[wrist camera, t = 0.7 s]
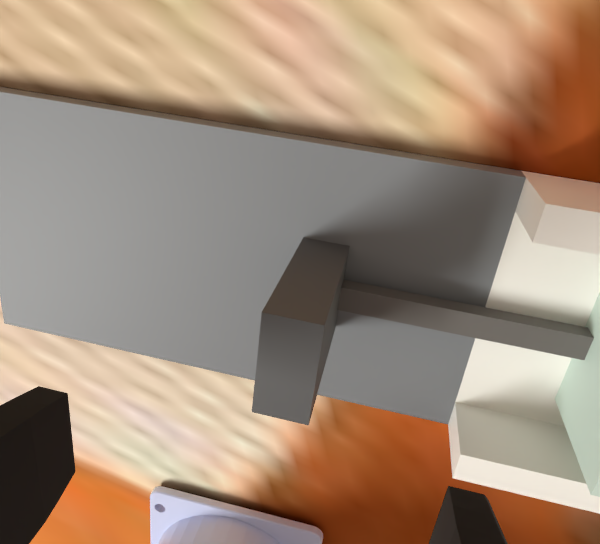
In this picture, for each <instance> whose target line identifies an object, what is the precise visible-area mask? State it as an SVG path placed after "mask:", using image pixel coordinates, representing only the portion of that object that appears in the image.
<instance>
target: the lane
mask: <svg viewBox="0 0 600 544" xmlns="http://www.w3.org/2000/svg"><path fill="white" fill-rule="evenodd" d="M303 237H305V238H310V239H315V240H321V241H326V242H331V243H337V244H342V245H347V246H350V248H349V254H348V259H347V265H346V271H345V277H344V280H348V281H353V282H359V283H364V284H369V285H374V286H379V287H384V288H389V289H394V290H399V291H404V292H409V293H415V294H420V295H425V296H430V297H435V298H440V299H445V300H450V301H455V302H460V303H465V304H471V305H476V306H481V307H486V308H491V309H496V310H501V311H506V312H511V313H516V314H521V315H526V316H532V317H537V318H542V319H547V320H552V321H557V322H562V323H567V324H572V325H577V326H582V327H585V326H586V323H587V321H588V319H589V316H590V314H591V312H592V309H593V307H594V304H595V302H596V300H597V297H598V295H599V292H600V183H595V182H588V181H582V180H576V179H570V178H564V177H557V176H551V175H545V174H539V173H533V172H526V171H520V170H514V169H508V168H502V167H495V166H489V165H483V164H477V163H471V162H464V161H458V160H452V159H446V158H440V157H433V156H427V155H421V154H415V153H409V152H402V151H396V150H390V149H384V148H378V147H371V146H365V145H359V144H353V143H347V142H340V141H334V140H328V139H322V138H316V137H309V136H303V135H297V134H291V133H285V132H278V131H272V130H266V129H260V128H253V127H247V126H241V125H235V124H229V123H222V122H216V121H210V120H204V119H198V118H191V117H185V116H179V115H173V114H167V113H160V112H154V111H148V110H142V109H136V108H129V107H123V106H117V105H111V104H105V103H98V102H92V101H86V100H80V99H74V98H67V97H61V96H55V95H49V94H43V93H36V92H30V91H24V90H18V89H12V88H5V87H0V298H1V305H2V311H3V317H4V323H5V324H10V325H14V326H19V327H23V328H27V329H32V330H36V331H40V332H45V333H49V334H54V335H58V336H62V337H67V338H71V339H76V340H80V341H84V342H89V343H93V344H98V345H102V346H106V347H111V348H115V349H120V350H124V351H128V352H133V353H137V354H142V355H146V356H150V357H155V358H159V359H163V360H168V361H172V362H177V363H181V364H185V365H190V366H194V367H199V368H203V369H207V370H212V371H216V372H221V373H225V374H229V375H234V376H238V377H243V378H247V379H251V380H255V375H256V365H257V355H258V345H259V334H260V324H261V314H262V311H263V309H264V307H265V305H266V304H267V302H268V300H269V298H270V296H271V295H272V293H273V291H274V289H275V288H276V286H277V284H278V282H279V280H280V279H281V277H282V275H283V273H284V271H285V270H286V268H287V266H288V264H289V262H290V261H291V259H292V257H293V255H294V253H295V252H296V250H297V248H298V246H299V244H300V243H301V241H302V239H303ZM571 359H572V358H570V357H565V356H560V355H555V354H551V353H546V352H541V351H536V350H531V349H526V348H521V347H516V346H511V345H507V344H502V343H497V342H492V341H487V340H482V339H477V338H472V337H467V336H463V335H458V334H453V333H448V332H443V331H438V330H433V329H428V328H423V327H419V326H414V325H409V324H404V323H399V322H394V321H389V320H384V319H380V318H375V317H370V316H365V315H360V314H355V313H350V312H345V311H340V310H339V311H338V317H337V323H336V328H335V331H334V335H333V339H332V342H331V346H330V349H329V353H328V357H327V360H326V364H325V367H324V371H323V375H322V378H321V382H320V385H319V389H318V393H317V395H322V396H326V397H330V398H335V399H339V400H344V401H348V402H352V403H357V404H361V405H366V406H370V407H374V408H379V409H383V410H388V411H392V412H396V413H401V414H405V415H410V416H414V417H418V418H423V419H427V420H431V421H436V422H440V423H445V424H448V428H449V441H450V453H451V466H452V478H454V479H458V480H462V481H466V482H471V483H475V484H479V485H483V486H487V487H491V488H496V489H500V490H504V491H508V492H512V493H516V494H520V495H525V496H529V497H533V498H537V499H541V500H545V501H549V502H554V503H558V504H562V505H566V506H570V507H574V508H579V509H583V510H587V511H591V512H595V513H599V514H600V497H598V496H594V495H591V494H590V492H589V489H588V486H587V484H586V481H585V478H584V476H583V473H582V470H581V468H580V465H579V462H578V460H577V457H576V454H575V452H574V449H573V446H572V444H571V441H570V438H569V436H568V433H567V430H566V428H565V425H564V422H563V420H562V417H561V414H560V412H559V409H558V406H557V404H556V401H555V397H556V395H557V392H558V390H559V388H560V385H561V383H562V380H563V378H564V376H565V373H566V371H567V369H568V366H569V364H570V361H571Z"/></svg>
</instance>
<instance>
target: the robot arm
mask: <svg viewBox="0 0 600 544" xmlns="http://www.w3.org/2000/svg"><path fill="white" fill-rule="evenodd" d="M74 473H75V463H74V453H73V443H72V433H71V423H70V413H69V404H68V394H67V393H64V392H59V391H55V390H51V389H47V388H43V387H37V388H34V389H32V390H30V391H28V392H26V393H24V394H22V395H20V396H18V397H16V398H14V399H12V400H10V401H8V402H6V403H4V404H3V405H1V406H0V544H29V543H30V542H31V540H32V539H33V538H34V536H35V535H36V534H37V532H38V531H39V530H40V528H41V527H42V526H43V524H44V523H45V521H46V520H47V518H48V517H49V515H50V513H51V512H52V510H53V509H54V507H55V505H56V504H57V502H58V500H59V499H60V497H61V495H62V494H63V492H64V490H65V488H66V487H67V485H68V483H69V482H70V480H71V478H72V476H73V475H74ZM150 534H151V544H322V541H323V533H322V531H321V530H320V529H319V528H318V527H315V526H312V525H308V524H305V523H301V522H297V521H293V520H289V519H285V518H282V517H278V516H274V515H270V514H266V513H263V512H259V511H255V510H251V509H247V508H243V507H240V506H236V505H232V504H228V503H224V502H221V501H217V500H213V499H209V498H205V497H201V496H198V495H194V494H190V493H186V492H182V491H179V490H175V489H171V488H167V487H163V486H158V487H155V488H154V489H153V491H152V493H151V495H150ZM429 544H507V541H506V539H505V537H504V535H503V533H502V530H501V528H500V526H499V524H498V521H497V519H496V517H495V514H494V512H493V510H492V507H491V505H490V503H489V501H488V499H487V498H486V496H485V495H483V494H479V493H475V492H471V491H467V490H463V489H459V488H454V487H450V486H448V489H447V492H446V495H445V498H444V500H443V503H442V506H441V509H440V512H439V515H438V518H437V521H436V524H435V527H434V530H433V533H432V536H431V539H430V542H429Z"/></svg>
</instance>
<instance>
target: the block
mask: <svg viewBox="0 0 600 544" xmlns="http://www.w3.org/2000/svg"><path fill="white" fill-rule="evenodd" d="M349 248H350V246H347V245H342V244H337V243H331V242H326V241H321V240H315V239H310V238H305V237H303V239H302V241H301V243H300V244H299V246H298V248H297V250H296V252H295V253H294V255H293V257H292V259H291V261H290V262H289V264H288V266H287V268H286V270H285V271H284V273H283V275H282V277H281V279H280V280H279V282H278V284H277V286H276V288H275V289H274V291H273V293H272V295H271V296H270V298H269V300H268V302H267V304H266V305H265V307H264V309H263V311H262V314H261V324H260V334H259V345H258V355H257V365H256V375H255V385H254V396H253V406H252V412H254V413H259V414H263V415H267V416H271V417H276V418H280V419H284V420H288V421H293V422H297V423H301V424H305V425H309V421H310V418H311V414H312V411H313V407H314V403H315V400H316V396H317V393H318V389H319V385H320V382H321V378H322V375H323V371H324V367H325V364H326V360H327V357H328V353H329V349H330V346H331V342H332V339H333V335H334V331H335V328H336V323H337V317H338V311H339V310H340V311H345V312H350V313H355V314H360V315H365V316H370V317H375V318H380V319H384V320H389V321H394V322H399V323H404V324H409V325H414V326H419V327H423V328H428V329H433V330H438V331H443V332H448V333H453V334H458V335H463V336H467V337H472V338H477V339H482V340H487V341H492V342H497V343H502V344H507V345H511V346H516V347H521V348H526V349H531V350H536V351H541V352H546V353H551V354H555V355H560V356H565V357H570V358H572V359H571V361H570V364H569V366H568V369H567V371H566V373H565V376H564V378H563V380H562V383H561V385H560V388H559V390H558V392H557V395H556V397H555V401H556V404H557V406H558V409H559V412H560V414H561V417H562V420H563V422H564V425H565V428H566V430H567V433H568V436H569V438H570V441H571V444H572V446H573V449H574V452H575V454H576V457H577V460H578V462H579V465H580V468H581V470H582V473H583V476H584V478H585V481H586V484H587V486H588V489H589V492H590V494H591V495H594V496H598V497H600V292H599V295H598V297H597V300H596V302H595V304H594V307H593V309H592V312H591V314H590V316H589V319H588V321H587V323H586V326H585V327H582V326H577V325H572V324H567V323H562V322H557V321H552V320H547V319H542V318H537V317H532V316H526V315H521V314H516V313H511V312H506V311H501V310H496V309H491V308H486V307H481V306H476V305H471V304H465V303H460V302H455V301H450V300H445V299H440V298H435V297H430V296H425V295H420V294H415V293H409V292H404V291H399V290H394V289H389V288H384V287H379V286H374V285H369V284H364V283H359V282H353V281H348V280H344V277H345V271H346V265H347V259H348V254H349Z"/></svg>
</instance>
